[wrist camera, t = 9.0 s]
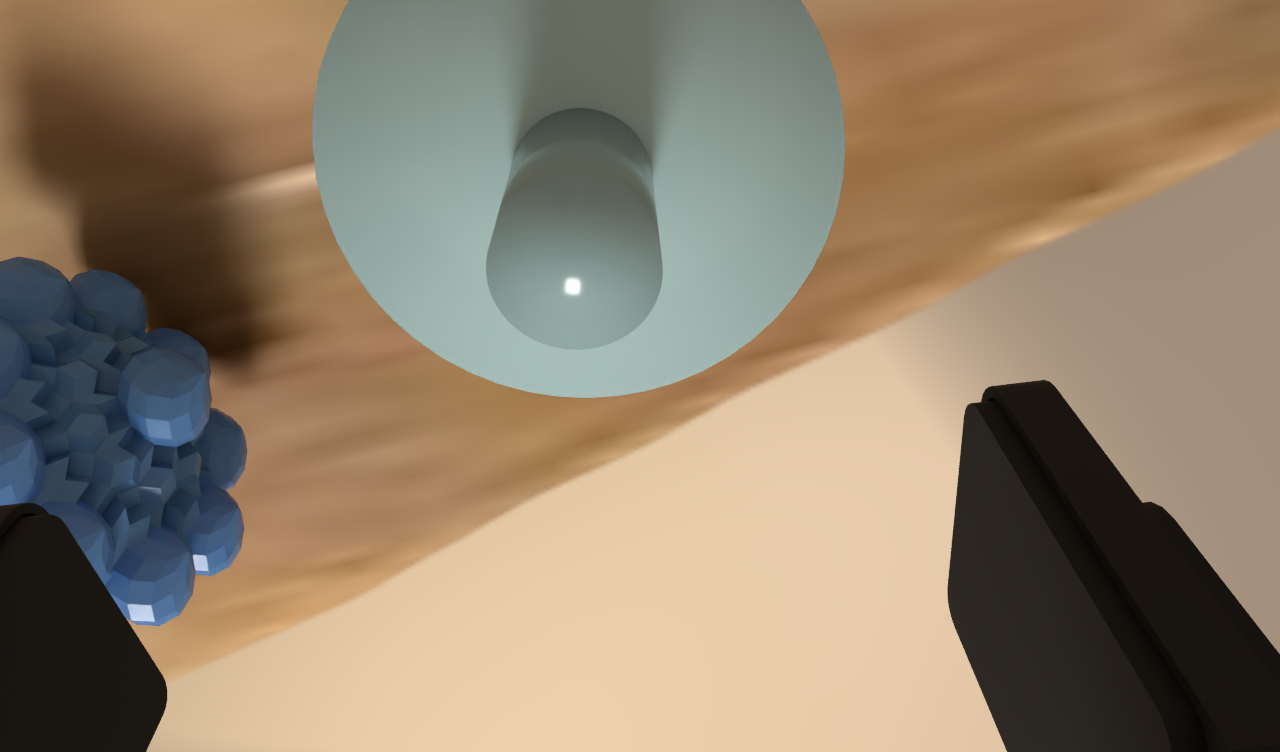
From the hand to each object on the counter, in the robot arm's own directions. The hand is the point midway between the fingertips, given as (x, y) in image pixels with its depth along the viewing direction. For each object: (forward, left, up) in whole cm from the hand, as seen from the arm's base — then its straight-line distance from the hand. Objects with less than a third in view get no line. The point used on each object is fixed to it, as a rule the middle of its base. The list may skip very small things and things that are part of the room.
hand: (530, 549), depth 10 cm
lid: (+1, 0, -14) cm, 14 cm away
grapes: (+8, -16, -23) cm, 29 cm away
